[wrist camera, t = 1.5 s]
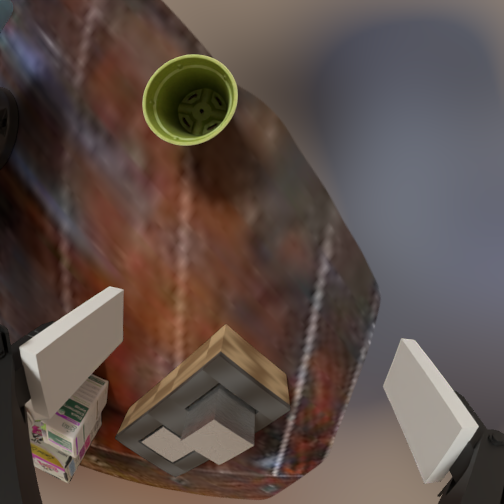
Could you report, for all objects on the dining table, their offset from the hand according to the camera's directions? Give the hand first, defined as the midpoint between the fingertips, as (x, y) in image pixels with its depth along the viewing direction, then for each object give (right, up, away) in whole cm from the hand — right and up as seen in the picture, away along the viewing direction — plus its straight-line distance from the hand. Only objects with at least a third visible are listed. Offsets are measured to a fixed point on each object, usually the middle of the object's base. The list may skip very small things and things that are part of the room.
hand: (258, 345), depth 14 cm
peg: (-4, -16, +26) cm, 30 cm away
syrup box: (-27, -19, +33) cm, 47 cm away
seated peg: (-12, -22, +34) cm, 42 cm away
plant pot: (-6, +21, +23) cm, 31 cm away
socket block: (-8, -18, +32) cm, 38 cm away
